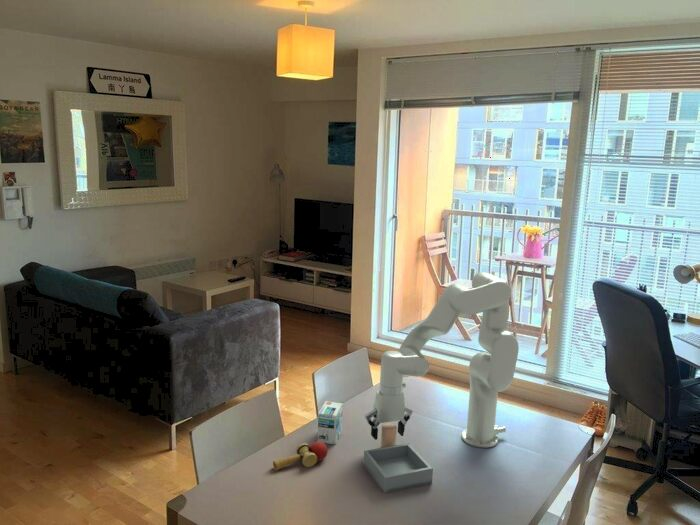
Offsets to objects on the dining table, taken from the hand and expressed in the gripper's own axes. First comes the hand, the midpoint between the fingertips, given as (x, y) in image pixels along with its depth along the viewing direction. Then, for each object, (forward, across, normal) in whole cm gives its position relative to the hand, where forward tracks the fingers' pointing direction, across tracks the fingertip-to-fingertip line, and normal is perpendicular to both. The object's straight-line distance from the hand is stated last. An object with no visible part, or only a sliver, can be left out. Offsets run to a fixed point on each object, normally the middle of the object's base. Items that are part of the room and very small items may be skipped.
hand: (387, 435), depth 192 cm
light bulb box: (+5, +16, -14) cm, 21 cm away
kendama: (+6, +30, 0) cm, 31 cm away
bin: (+5, +4, +15) cm, 16 cm away
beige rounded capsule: (+5, 0, 0) cm, 5 cm away
